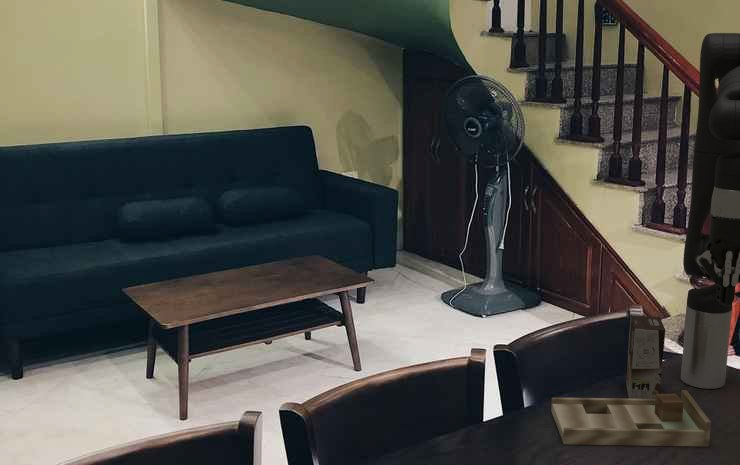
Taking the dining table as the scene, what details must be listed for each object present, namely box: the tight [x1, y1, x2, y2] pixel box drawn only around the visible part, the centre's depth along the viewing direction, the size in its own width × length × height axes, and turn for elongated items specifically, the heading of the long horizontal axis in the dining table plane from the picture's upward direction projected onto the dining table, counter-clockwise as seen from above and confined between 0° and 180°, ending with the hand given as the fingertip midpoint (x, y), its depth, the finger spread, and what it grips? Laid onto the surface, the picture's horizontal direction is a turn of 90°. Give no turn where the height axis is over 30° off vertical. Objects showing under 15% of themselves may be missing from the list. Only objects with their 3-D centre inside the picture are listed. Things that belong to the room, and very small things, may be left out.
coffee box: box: [625, 315, 667, 399], centre depth 186 cm, size 9×6×16 cm
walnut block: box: [654, 393, 684, 422], centre depth 172 cm, size 4×4×4 cm
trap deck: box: [550, 389, 712, 448], centre depth 171 cm, size 27×15×5 cm, turn 88°
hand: (724, 304), depth 161 cm, fingers closed
